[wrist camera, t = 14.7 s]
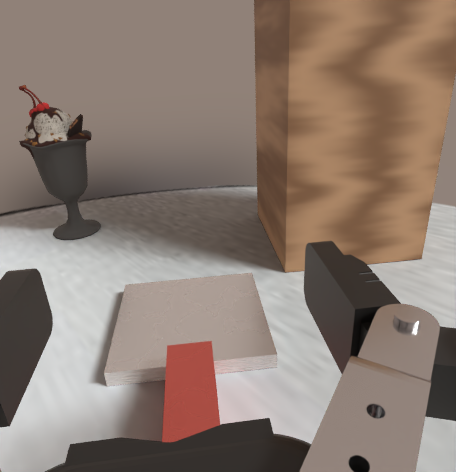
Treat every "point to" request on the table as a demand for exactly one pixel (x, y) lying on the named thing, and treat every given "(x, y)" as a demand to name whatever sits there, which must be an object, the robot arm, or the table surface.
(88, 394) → the table surface
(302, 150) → the stand
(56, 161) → the sundae
